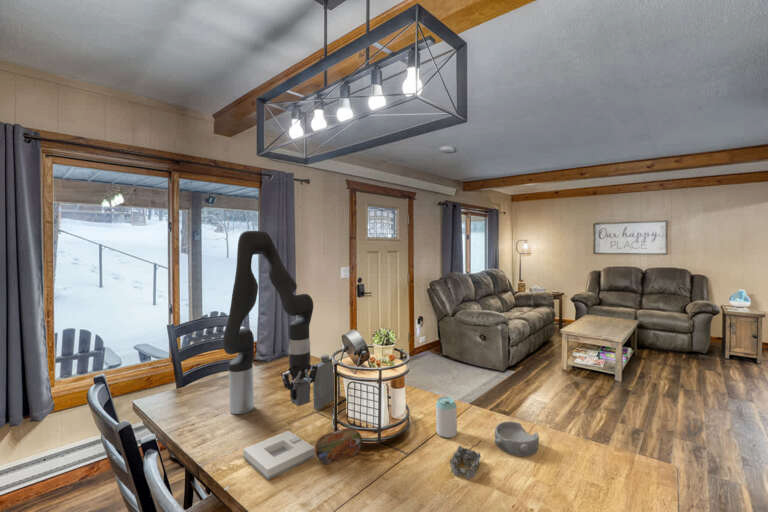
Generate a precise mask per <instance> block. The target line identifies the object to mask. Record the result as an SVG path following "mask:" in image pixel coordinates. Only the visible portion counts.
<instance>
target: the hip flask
mask: <svg viewBox="0 0 768 512" xmlns="http://www.w3.org/2000/svg"><path fill="white" fill-rule="evenodd" d="M320 359H321V360H320V361H319V362H317V363H316V364H314V365H316V366H318V368H317V373H316V378H315V382H312V391H313V392H312V396H313V397H312V398H313V410H314V409H316V410H315V411H318V410H317V409H320V410H321V409H323V408H324V407H325V406H327V405H328V404H330V403H332V402H333V401H335V400H334V373H333V365H332V357H330V355H329V354H322V355H321V356H320ZM339 396H340V397H341V377H339V376H338V399H340V398H339ZM332 400H333V401H332ZM329 402H330V403H329ZM327 403H328V404H327ZM326 404H327V405H326ZM324 405H325V406H324ZM323 406H324V407H323Z"/></svg>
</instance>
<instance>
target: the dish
mask: <svg viewBox="0 0 768 512" xmlns="http://www.w3.org/2000/svg"><path fill="white" fill-rule="evenodd" d="M539 443H540V438H539V433H538V432H534V434H532V435H531V434H529V433H528V432H527V431H526V430H525V428H524V427H523V426H522V424H521V422H516V421H503V422H500V423H498V424H497V425H496V427H495V429H494V444H495V445H496V446H497V447H498V448H499V449H500V450H501V451H502V452H505V453H507V454H509V455H512V456H517V457H529V456H532V455H534V454H536V453H537V451H538V449H539V445H540V444H539Z"/></svg>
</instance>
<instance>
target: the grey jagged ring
mask: <svg viewBox="0 0 768 512" xmlns="http://www.w3.org/2000/svg"><path fill="white" fill-rule="evenodd" d="M462 458H463V466H464V467H466V468H464V467H463V468H462V467H458V465H460V464H461V459H462ZM480 461H481V452H476V450H471V449H469V448H467V447H466V448H464V447H463V446H461V445H459V446H458V447H457V450H456V451H455V452H454V454H453V456H452V457H451V459H449V464H450V468H451V469H450V470H451V472H450V473H453V474H454V476H455V477H459V476H464V477H465V479H466V480H471V479H475V478H476V473H477V472H478V469H479V467H478V466H480V464H481V462H480ZM472 462H473V463H472Z"/></svg>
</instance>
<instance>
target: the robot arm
mask: <svg viewBox="0 0 768 512" xmlns="http://www.w3.org/2000/svg"><path fill="white" fill-rule="evenodd" d="M236 250H237V253H236V256H237V257H236V269H235V276H234V284H233V288H232V292H231V293H232V295H231V301H230V302H231V303H230V309H229V314H228V318H227V322H226V325H225V330H224V334H223V339H222V345H223V346H222V347H223V350H224V353H226V354H227V355H235V354H237V355H236V356H234V358H232V360H231V361H229V363H228V387H229V390H228V391H229V411H230V413H231V414H232V415H243V414H247V413H250V412H251V411H253V410H254V408H255V402H254V401H255V397H254V393H255V392H254V372H253V370H254V368H253V367H254V366H253V363H254V360H255V337H254V334H253V331H252V330H251V329H250V328H247V327H243V328H241V327H242V324H243V322H244V320H246V318H247V316H248V315H249V314H250V313H251V311H252V309H253V308H254V307H255V305H256V303H257V297H258V293H259V292H258V291H259V284H258V281H257V278H256V277H255V275H254V273H253V270H252V259H253V256H254V255H262V257H264V258H265V259H266V261H267V263H268V277H269V280H270V282H271V284H272V286H273V287H274V288H275V290H276V292H277V294H278V295H279V298H280V299H279V300H280V302H281V304H282V308H283V310H284V312H285V313H286V314H287V315H288V316H291V317H296V318H295V320H293V321H292V322H290V323H289V325H288V337H289V340H288V365H289V367H288V370H287V371H285V372H281V378H282V382H283V386H284V388H285V389H287V390H288V391H289V397H290V399H291V398H292V399H293V400H296V386H297V384H298V381H299V380H300V379H301V378H304V381H306V382H309V383H310V385H311V384H313V382H315V378H316V373H317V368H318V366H316V365H315V364H313V363H312V364H311V341H310V323H311V320H312V317H313V316H312V315H313V313H314V312H313V311H314V302H313V301H314V300H313V299H312V297H311V296H310V295H309V294H307V293H301V294H294V293H296V292H295V291H296V290H297V288H298V286H297V285H298V284H297V283H296V281H295V280H294V278H293V277H292V276H291V274H290V273H289V272H288V270H287V267H286V266H285V265H284V263H283V260H282V259H281V257H280V255H279V252H278V250H277V248H276V245H275V244H274V242H273V239H272V237H271V236H270V234H269V233H267V231H264V230H244V231H242V232H241V233H240V235H239V237H238V241H237V249H236Z"/></svg>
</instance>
